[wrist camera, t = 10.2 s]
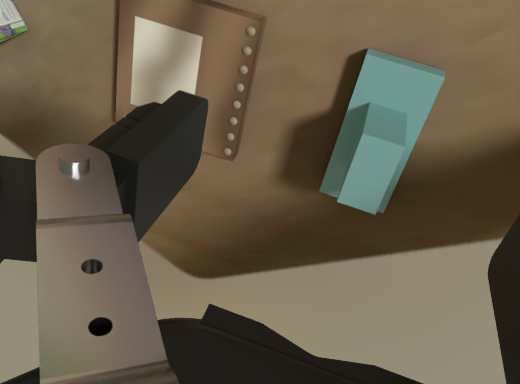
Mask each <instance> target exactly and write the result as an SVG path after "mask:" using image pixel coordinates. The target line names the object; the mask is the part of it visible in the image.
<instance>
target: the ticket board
mask: <svg viewBox="0 0 520 384" xmlns="http://www.w3.org/2000/svg"><path fill="white" fill-rule="evenodd" d="M265 22H266V17H264V16H261V15H258V14H254V13H251V12H248V11H244V10H241V9H237V8H234V7H231V6H227V5H224V4H221V3H217V2H214V1H211V0H120V7H119V34H118V62H117V90H116V118H115V122H118V121H119V120H121V119H122V118H123V117H126V115H127V114H128V113H130V112H131V111H132V110H134V109H135V108H136V107H138V106H142V105H145V104H148V103H152V102H157V103H160V104H162V103H163V102H165V101H166V100H167V99H168V98H169V97H171V96H172V95H173V94H174V93H176V92H177V91H178V90H181V91H184V92H187V93H191V94H194V95H197V96H200V97H203V98H206V99H207V100H208V113H207V120H206V126H205V132H204V139H203V145H202V151H203V152H206V153H209V154H212V155H215V156H218V157H221V158H224V159H227V160H230V161H233V160H234V158H235V157H236V155H237V154H238V150H239V145H240V140H241V136H242V131H243V126H244V121H245V117H246V112H247V107H248V102H249V98H250V93H251V88H252V83H253V79H254V74H255V69H256V64H257V60H258V55H259V50H260V45H261V41H262V36H263V31H264V26H265Z"/></svg>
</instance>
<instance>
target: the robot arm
mask: <svg viewBox="0 0 520 384" xmlns="http://www.w3.org/2000/svg"><path fill="white" fill-rule="evenodd" d="M207 113H208V100H207V99H206V98H203V97H200V96H197V95H194V94H191V93H187V92H184V91H181V90H178V91H177V92H176V93H174V94H173V95H172V96H171V97H169V98H168V99H167V100H166V101H165V102H163V103H162V104H160V103H157V102H152V103H148V104H145V105H142V106H138V107H136V108H135V109H134V110H132V111H131V112H130V113H128V114H127V115H126V117H123V118H122V119H121V120H119V121H118V122H117V123H116V125H113V126H111V127H110V128H109V129H107V130H106V131H105V132H104V133H102V134H101V135H100V136H98V137H97V138H96V139H94V140H93V141H92V142H90V143H89V144H88V145H85V144H74V143H71V144H61V145H56V146H53V147H50V148H48V149H46V150H44V151H43V152H41V153H40V154H39V155H38V157H37V159H36V160H30V159H23V158H15V157H7V156H0V263H1V262H2V261H3V260H4V259H11V260H21V261H31V262H37V284H38V322H39V358H40V359H39V361H40V367H38V368H36V369H34V370H31V371H29V372H26V373H24V374H22V375H19V376H17V377H15V378H12V379H10V380H8V381H5V382H3V383H1V384H423V383H420V382H417V381H415V380H412V379H409V378H407V377H404V376H401V375H399V374H396V373H393V372H390V371H388V370H385V369H382V368H380V367H377V366H375V365H368V364H361V363H355V362H348V361H341V360H334V359H327V358H321V357H316V356H314V355H312V354H310V353H308V352H306V351H305V350H303V349H302V348H300V347H298V346H297V345H295V344H294V343H292V342H291V341H289V340H287V339H286V338H284V337H283V336H281V335H279V334H278V333H276V332H275V331H273V330H271V329H270V328H268V327H267V326H265V325H264V324H262V323H260V322H257V321H254V320H252V319H249V318H246V317H244V316H241V315H238V314H236V313H233V312H230V311H228V310H225V309H222V308H219V307H217V306H214V305H212V304H209V306H208V308H207V310H206V312H205V314H204V316H203V318H202V319H194V318H170V319H162V320H157V317H156V313H155V309H154V305H153V301H152V297H151V293H150V289H149V285H148V281H147V277H146V273H145V269H144V265H143V261H142V257H141V253H140V249H139V245H138V242H139V241H140V240H141V238H142V237H143V236H144V235H145V233H146V232H147V231H148V230H149V228H150V227H151V226H152V225H153V223H154V222H155V221H156V220H157V218H158V217H159V216H160V215H161V213H162V212H163V211H164V210H165V208H166V207H167V206H168V205H169V203H170V202H171V201H172V200H173V198H174V197H175V196H176V195H177V193H178V192H179V191H180V190H181V188H182V187H183V186H184V185H185V184H186V182H187V181H188V180H189V179H190V177H191V176H192V175H193V173H194V172H195V170H196V167H197V165H198V163H199V160H200V156H201V151H202V145H203V139H204V132H205V126H206V120H207ZM488 280H489V286H490V291H491V297H492V303H493V309H494V315H495V320H496V326H497V331H498V338H499V343H500V349H501V355H502V361H503V365H504V372H505V378H506V383H507V384H520V215H519V216H518V218H517V219H516V221H515V222H514V224H513V225H512V227H511V228H510V230H509V231H508V233H507V234H506V236H505V237H504V239H503V240H502V242H501V244H500V245H499V246H498V248H497V249H496V251H495V253H494V254H493V256H492V258H491V261H490V264H489V269H488Z"/></svg>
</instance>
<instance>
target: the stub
mask: <svg viewBox="0 0 520 384" xmlns="http://www.w3.org/2000/svg"><path fill="white" fill-rule="evenodd" d="M444 79H445V73H444V71H443V70H440V69H437V68H433V67H430V66H427V65H423V64H420V63H416V62H413V61H410V60H406V59H403V58H400V57H396V56H393V55H390V54H386V53H383V52H380V51H376V50H373V49H369V48H368V51H367V54H366V57H365V60H364V62H363V65H362V68H361V71H360V74H359V77H358V80H357V83H356V86H355V89H354V92H353V94H352V97H351V100H350V103H349V106H348V109H347V112H346V115H345V118H344V121H343V124H342V126H341V129H340V132H339V135H338V138H337V141H336V144H335V147H334V150H333V153H332V156H331V158H330V161H329V164H328V167H327V170H326V173H325V176H324V179H323V182H322V185H321V188H320V191H319V192H321V193H324V194H327V195H330V196H333V197H336V198H338V200H337V202H339V203H342V204H345V205H348V206H351V207H354V208H357V209H360V210H363V211H365V212H368V213H371V214H374V215H375V214H376V212H377V211H378V212H381V213H384V211H385V209H386V206H387V204H388V202H389V200H390V198H391V195H392V193H393V191H394V189H395V187H396V184H397V182H398V180H399V178H400V176H401V173H402V171H403V169H404V167H405V165H406V162H407V160H408V158H409V156H410V154H411V151H412V149H413V147H414V145H415V143H416V140H417V138H418V136H419V134H420V132H421V129H422V127H423V125H424V123H425V121H426V118H427V116H428V114H429V112H430V110H431V107H432V105H433V103H434V101H435V99H436V96H437V94H438V92H439V90H440V88H441V85H442V83H443V81H444Z"/></svg>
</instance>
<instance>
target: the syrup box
mask: <svg viewBox="0 0 520 384" xmlns="http://www.w3.org/2000/svg"><path fill="white" fill-rule="evenodd" d="M25 31H27V26H26V25H25V23H24V21H23V20H22V18H21V16H20V14H19V13H18V11H17V9H16V8H15V6H14V4H13V2H12V1H11V0H0V43H2V42H4V41H6V40H8V39H10V38H13V37H15V36H17V35H19V34H21V33H23V32H25Z"/></svg>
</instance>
